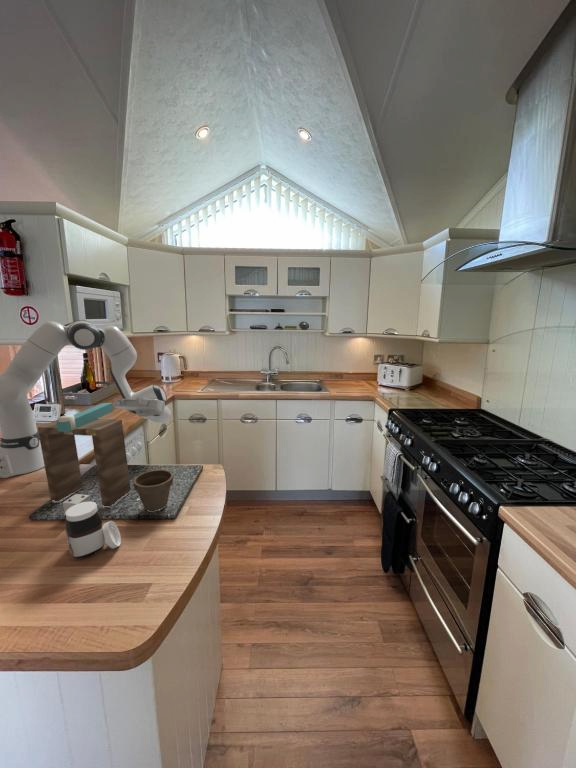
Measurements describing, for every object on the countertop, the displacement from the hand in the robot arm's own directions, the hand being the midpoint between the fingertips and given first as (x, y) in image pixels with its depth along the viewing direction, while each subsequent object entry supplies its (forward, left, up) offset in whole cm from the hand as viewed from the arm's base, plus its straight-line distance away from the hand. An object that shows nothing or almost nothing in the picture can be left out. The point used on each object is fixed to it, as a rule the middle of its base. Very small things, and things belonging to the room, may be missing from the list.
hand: (127, 399), depth 137 cm
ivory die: (+8, -39, -26) cm, 47 cm away
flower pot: (+30, -32, -26) cm, 51 cm away
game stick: (+5, -27, 0) cm, 27 cm away
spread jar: (+25, -52, -26) cm, 63 cm away
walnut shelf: (+5, -30, -26) cm, 40 cm away
